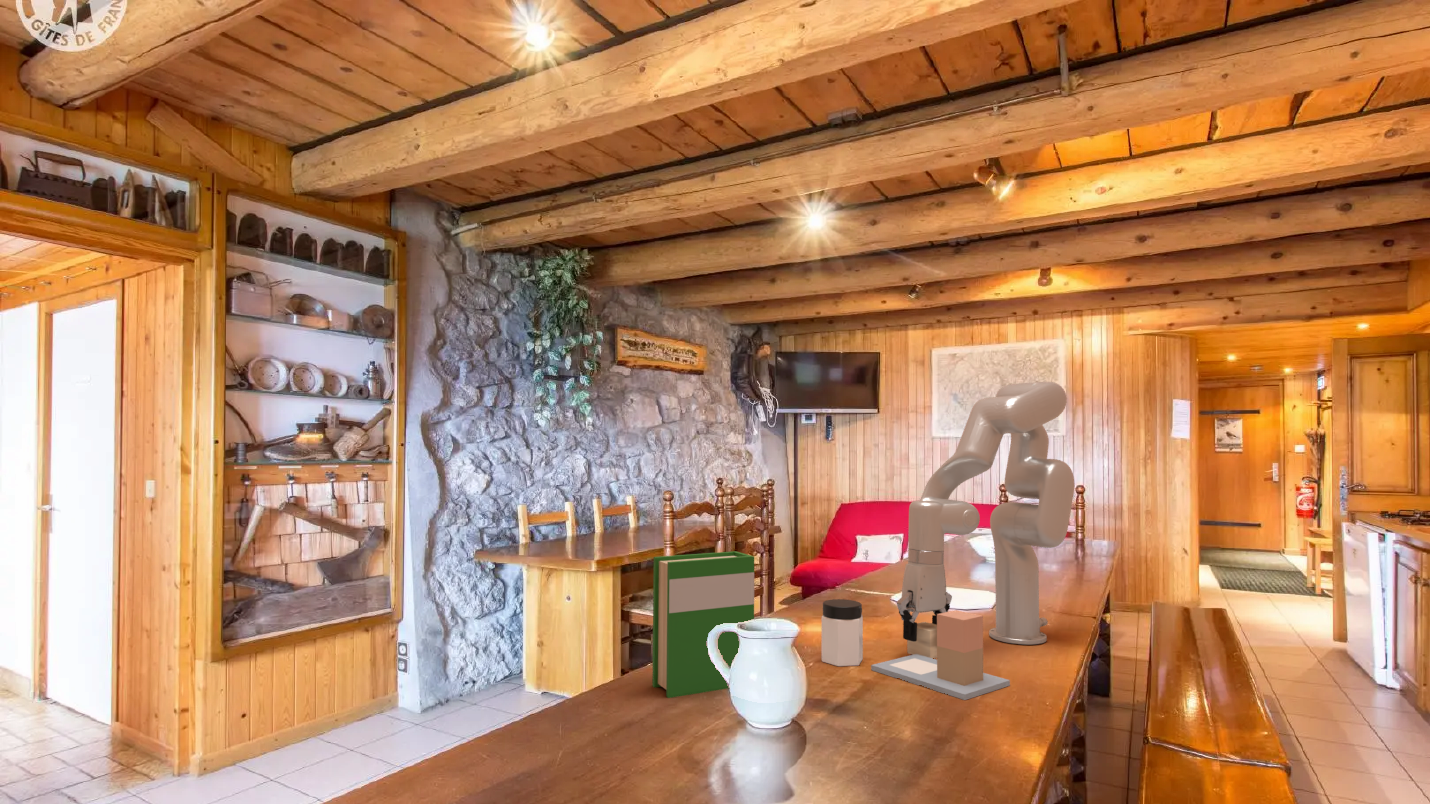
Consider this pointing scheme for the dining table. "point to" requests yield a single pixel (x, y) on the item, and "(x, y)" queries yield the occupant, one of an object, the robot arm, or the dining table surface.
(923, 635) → the birch block
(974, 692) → the board
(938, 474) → the robot arm
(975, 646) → the terracotta block
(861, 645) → the jar
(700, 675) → the hardback book
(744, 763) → the dining table surface
